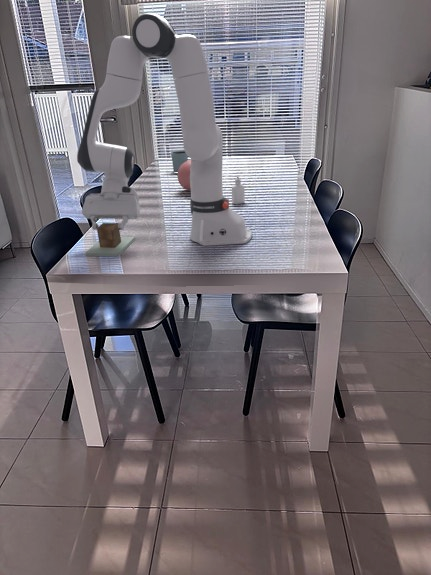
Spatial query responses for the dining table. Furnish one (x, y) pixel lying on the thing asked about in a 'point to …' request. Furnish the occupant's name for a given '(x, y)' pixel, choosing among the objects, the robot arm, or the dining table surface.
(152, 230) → the dining table surface
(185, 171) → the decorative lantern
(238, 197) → the eye dropper bottle
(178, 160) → the drinking glass
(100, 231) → the walnut cap
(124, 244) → the post board
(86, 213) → the robot arm
